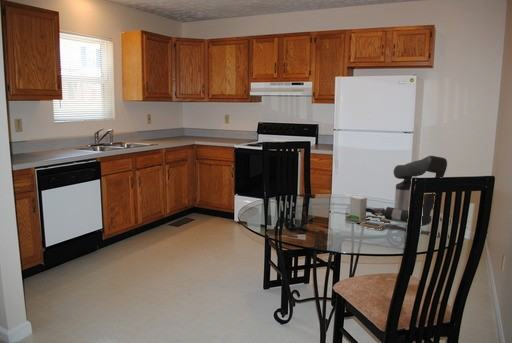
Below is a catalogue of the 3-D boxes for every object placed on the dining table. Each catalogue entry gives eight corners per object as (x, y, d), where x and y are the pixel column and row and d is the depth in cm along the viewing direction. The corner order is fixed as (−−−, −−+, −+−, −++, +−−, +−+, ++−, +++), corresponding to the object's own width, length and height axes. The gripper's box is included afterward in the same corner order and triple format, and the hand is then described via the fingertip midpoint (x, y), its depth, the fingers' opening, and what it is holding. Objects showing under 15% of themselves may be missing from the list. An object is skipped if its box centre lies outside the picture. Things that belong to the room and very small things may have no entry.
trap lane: (357, 216, 268) (357, 210, 267) (393, 222, 254) (393, 215, 254) (341, 223, 248) (342, 217, 248) (380, 230, 235) (380, 223, 234)
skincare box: (349, 221, 255) (349, 196, 253) (355, 219, 259) (356, 195, 257) (360, 223, 249) (360, 198, 246) (366, 221, 253) (367, 197, 250)
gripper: (398, 206, 246) (370, 202, 256) (391, 210, 235) (362, 205, 245) (397, 218, 247) (369, 213, 257) (390, 222, 237) (361, 217, 246)
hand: (366, 209), depth 251 cm, fingers closed
